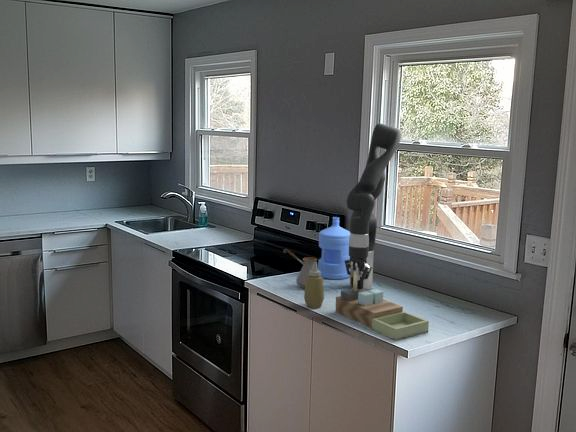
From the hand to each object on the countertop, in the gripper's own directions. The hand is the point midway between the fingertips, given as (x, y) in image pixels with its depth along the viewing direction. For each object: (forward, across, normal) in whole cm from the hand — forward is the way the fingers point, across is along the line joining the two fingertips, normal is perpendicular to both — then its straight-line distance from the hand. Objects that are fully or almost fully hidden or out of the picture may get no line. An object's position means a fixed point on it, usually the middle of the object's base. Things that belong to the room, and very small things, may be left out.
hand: (356, 287), depth 231 cm
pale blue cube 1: (+4, +8, -2) cm, 9 cm away
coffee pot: (+10, -41, +3) cm, 42 cm away
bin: (+10, +24, 0) cm, 26 cm away
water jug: (+10, -46, +26) cm, 54 cm away
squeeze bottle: (+10, -14, -10) cm, 20 cm away
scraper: (+4, 0, 0) cm, 4 cm away
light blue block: (+4, +8, +2) cm, 9 cm away
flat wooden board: (+10, +7, 0) cm, 12 cm away
